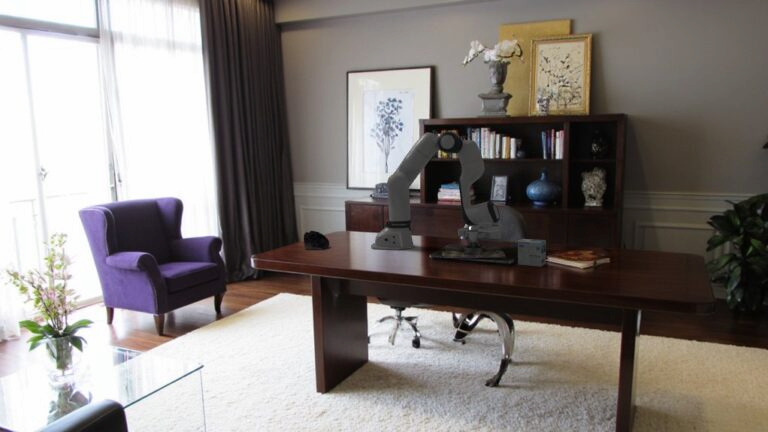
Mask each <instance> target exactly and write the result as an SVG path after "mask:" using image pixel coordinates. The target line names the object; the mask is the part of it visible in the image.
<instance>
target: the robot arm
mask: <svg viewBox="0 0 768 432" xmlns="http://www.w3.org/2000/svg"><path fill="white" fill-rule="evenodd" d="M439 151H441V152H442V153H444V154H447V155H451V154H456V155H457V157H458V159H459V162H460V166H461V175H460V176H459V177H458V190H459V199H460V200H459V201H460V205H461V206H460V209H461V211H460V215H461V220H462V222H463V223H464V225H467V226H468V227H461V228H458V231H457V235H458V237H462V238H469V231H468V229H469V226H471V225H476V226H478V234H477V238H478V241H484V242H485V241H490V240H501V238H502V230H503V223H502V222H501V220H500V217H501V216H500V210H499V208H498V206H497V205H496V204H495V203H494V202H492V201H489V200H488V201H485V202H481V203H478V204H473V205H472V204H471V195H470V194H471V193H470V188H471V186H472V185H473V184H474V183H475V182H476V181H478V180H479V179H480V178H481V177H482V176H483V174H484V172H485V162H484V159H483V156H482V153H481V150H480V148H479V146H478V144H477V142H476V141H475V140H473V139H467V140H462V139H461V138H460V136H459V135H458V133H456V132H454V131H443V132H442V133H440V135H436V134H434V133H432V132H425V133H424V134H423V135H421V137H419V138H418V139H417V141H416V142H415V143H414V144H413V145H412V147H411V148H410V150H409V151H408V152H407V154H406V155H405V156H404V158H403V159H402V161H401V162H400V164H399V166H397V168H396V170H395V171H394V172H393V174H391V175H389V177H388V178H387V181H386V188H387V199H388V200H387V201H388V215H389V216H388V218H389V219H386V220H385V227H384V228H383V229H382V230H380V232H378V233H377V234H376V236H375V240H374V243H372V244H371V245H370V248H371V249H372V250H388V251H389V250H393V251H400V250H406V249H410V248H411V249H412V248H414V247H415V244H414V241H413V235H412V234H413V233H412V228H413V225H412V224H413V223H412V219H411V200H410V187H411V186H412V184H413V183H414V181H415V180H416V179H417V178H418V176H419V175H420V173H421V172H422V171H423V169H425V167H426V165H427V164H428V163H429V162H430V160H431V159H432V158H433V156H434V155H435V154H436V153H437V152H439Z"/></svg>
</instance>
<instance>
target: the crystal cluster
mask: <svg viewBox="0 0 768 432" xmlns="http://www.w3.org/2000/svg"><path fill="white" fill-rule="evenodd" d="M303 246H304V248H305V249H306V250H310V251H313V250H315V251H317V250H318V251H321V250H324V249H326V248H328V247H329V246H330V240H329V239H328V237H326V235H324V234H323V233H322V232H320V231H316V230H310V231H306V232H304V234H303Z"/></svg>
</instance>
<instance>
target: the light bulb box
mask: <svg viewBox="0 0 768 432" xmlns="http://www.w3.org/2000/svg"><path fill="white" fill-rule="evenodd" d="M546 246H547V241H546V240H545V239H531V238H530V239H529V238H528V239H527V238H521V239H519V240H518V241H517V264H518V265H519V266H520V265H521V266H530V267H539V268H541V267H544V266H545V265H546V264H547V263H546V262H547V261H546V259H547V253H546V251H547V247H546Z"/></svg>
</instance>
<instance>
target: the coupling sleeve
mask: <svg viewBox="0 0 768 432" xmlns="http://www.w3.org/2000/svg"><path fill="white" fill-rule="evenodd" d="M468 228H469V229H468V231H469V237H468V245H469V247H470V248H478V245H479V239H478V238H477V234H478V226H477V224H476V225H471V226H468Z"/></svg>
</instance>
